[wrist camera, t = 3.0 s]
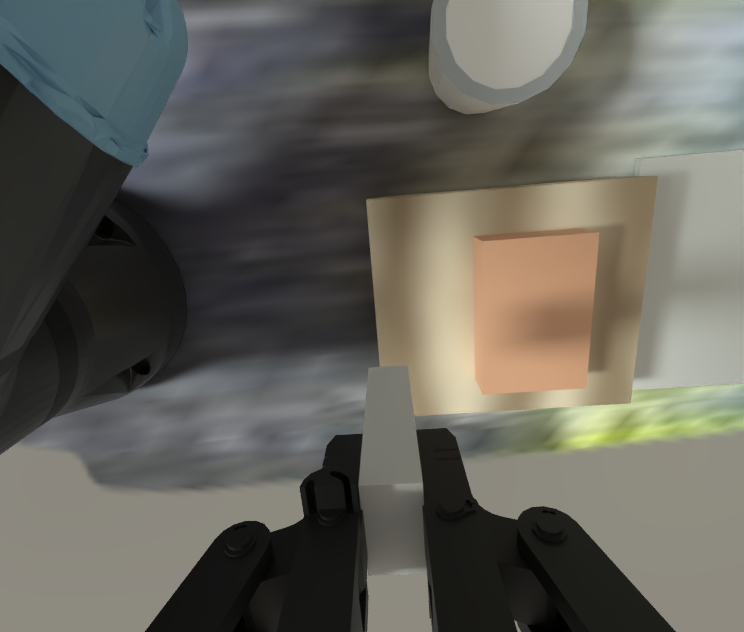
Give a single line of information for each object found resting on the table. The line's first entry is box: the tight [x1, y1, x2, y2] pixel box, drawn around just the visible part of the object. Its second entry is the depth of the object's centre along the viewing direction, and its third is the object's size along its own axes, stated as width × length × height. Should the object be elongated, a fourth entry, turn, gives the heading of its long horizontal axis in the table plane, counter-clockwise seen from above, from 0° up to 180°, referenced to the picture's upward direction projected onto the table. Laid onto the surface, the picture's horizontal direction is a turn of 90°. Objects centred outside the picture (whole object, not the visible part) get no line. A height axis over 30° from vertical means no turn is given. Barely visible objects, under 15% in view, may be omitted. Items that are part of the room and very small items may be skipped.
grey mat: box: [632, 150, 744, 390], centre depth 28 cm, size 14×16×1 cm
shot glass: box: [429, 0, 588, 114], centre depth 21 cm, size 7×7×7 cm
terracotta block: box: [474, 228, 599, 395], centre depth 24 cm, size 6×9×2 cm, turn 5°
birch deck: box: [366, 176, 658, 416], centre depth 27 cm, size 16×14×4 cm
